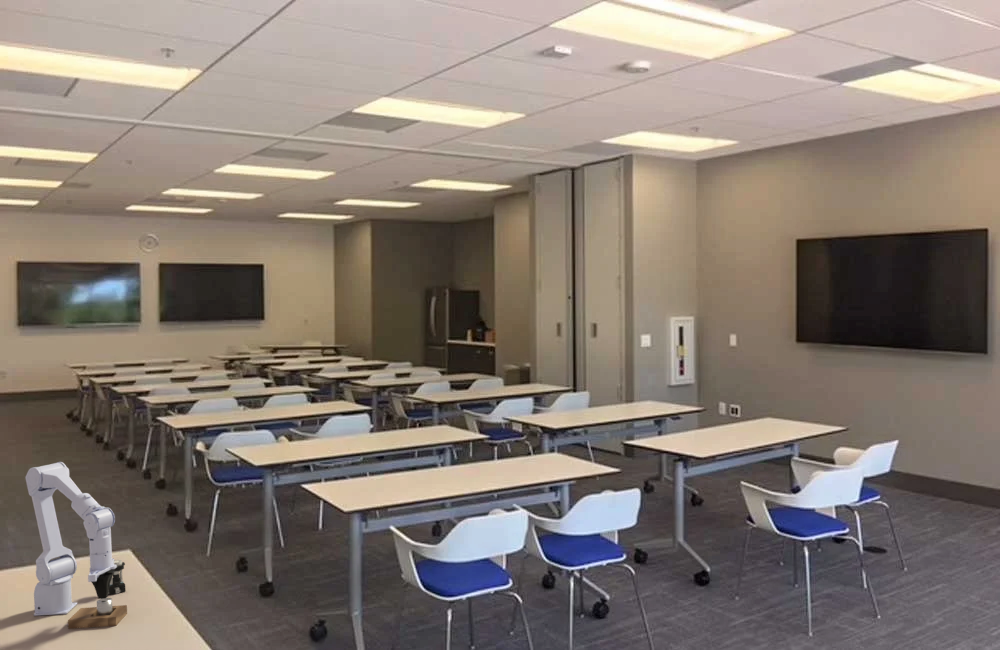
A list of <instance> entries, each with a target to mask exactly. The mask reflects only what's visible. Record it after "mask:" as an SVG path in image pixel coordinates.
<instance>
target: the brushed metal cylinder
mask: <svg viewBox="0 0 1000 650" xmlns="http://www.w3.org/2000/svg"><path fill="white" fill-rule="evenodd" d="M112 606H113V598H111V597H107V598H105V599H97V601H96V607H97V616H106V615H111V614H112V612H113V609H112Z"/></svg>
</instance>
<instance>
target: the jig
mask: <svg viewBox="0 0 1000 650" xmlns="http://www.w3.org/2000/svg"><path fill="white" fill-rule="evenodd" d="M112 609H113V612H112V614H111V615H106V616H97V606H96V607H95V606H94V607H80V608H79V609H78V610H77V611H76V612H75V613H74V614H73V615H72V616H71V617H70V618H69V619H67V627H68V628H67V629H68V630H70V629H74V630H75V629H86V628H88V629H89V628H100V627H101V628H102V627H114V626H115V627H116V626H117V625H118V624H119V623H120V622H121V621H122V620H123V619H124V618H125V616H127V614H128V606H127V605H126V604H125V605H112Z"/></svg>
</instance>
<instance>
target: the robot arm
mask: <svg viewBox="0 0 1000 650" xmlns="http://www.w3.org/2000/svg"><path fill="white" fill-rule="evenodd" d="M24 478H25V482H26V488H27V491H28V492H27V493H28V495H29V496H30V497H31V500H32V504H33V509H34V514H35V518H36V524H37V528H38V532H39V533H38V534H39V537H40V541H41V545H42V552H41V553H40V555H39V556H38V557H37V558H36V560H35V564H36V566H35V567H36V568H35V576H36V579H37V581H38V582H37V583H36V585H35V587H34V592H33V600H34V603H33V604H34V605H33V606H34V613H33V616H34V617H35V616H37V617H38V616H48V615H49V616H51V615H66V614H68V613H69V612H70V611H71V610H73V609H74V608H75V607H76V606H77V605H78V602H73V600H72V598H73V597H72V596H73V595H72V579H73V578H74V574H75V573H76V572H77V569H78V563H77V560H76V558H75V556H74V554H73V551H72V549H70V548H68V547H65V546H64V545H63V541H62V535H61V532H60V528H59V527H60V526H59V522H58V519H57V513H56V507H55V503H54V499H53V495H54V493H55V491H56V490H58V491H59V492H60V493H61V494H62V495H64V496H65V497H66V498H67V499H68V500H70V501H71V505H70V506H71V507H70V508H72V510H73V511H75V513H76V514H77V515H78V516H79V517H80V518H81V520H83V523H82V524H83V526H84V529H85V531H86V537H87V538H88V542H89V544H88V545H89V547H88V548H89V574H88V575H87V580H88V581H87V582H88V583H91V584H92V585H93V587H94V589H95V590H94V591H95V593H96V596H97V600H99V599H105V598H108V595H109V593H108V592H109V586H110V582H111V579H112V578H113V574H114V570H111V569H115V568H116V567H117V565H114V560H115V558H113V550H112V549H113V547H112V530H111V528H112V527H114V525H115V522H116V515H115V513H114V512H113V510H112V509H111V508H110V507H105V506H104V505H103V506H102V505H101V504H100V503H98V501H96V499H94V497H93V496H92V495H91V494H90V493H89V492H82V491H81V489H80V488H79V487H78V485H76V483H75V481H73V480H72V478H71V477H70V469H69V467H67V465H66V464H65V463H64V462H63V461H57V462H54V463H51V464H45V465H41V466H35V467H34V466H33V467H30V468H29V469H28V470H27V472H26V475H25V477H24Z"/></svg>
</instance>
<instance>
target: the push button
mask: <svg viewBox="0 0 1000 650" xmlns="http://www.w3.org/2000/svg"><path fill="white" fill-rule="evenodd" d="M114 565H117V567H116V568H115V569H111V570H114V574H113V576H112V579H111V582H110V586H109V592H108V595H110V596H111V595H116V594H120V593H121V594H122V593H125V592H126V591H127V590H126V584H125V582H124V580H123V570H124V569H125V565H126V563H125V562H124V561H122V560H121V559H114Z"/></svg>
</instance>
